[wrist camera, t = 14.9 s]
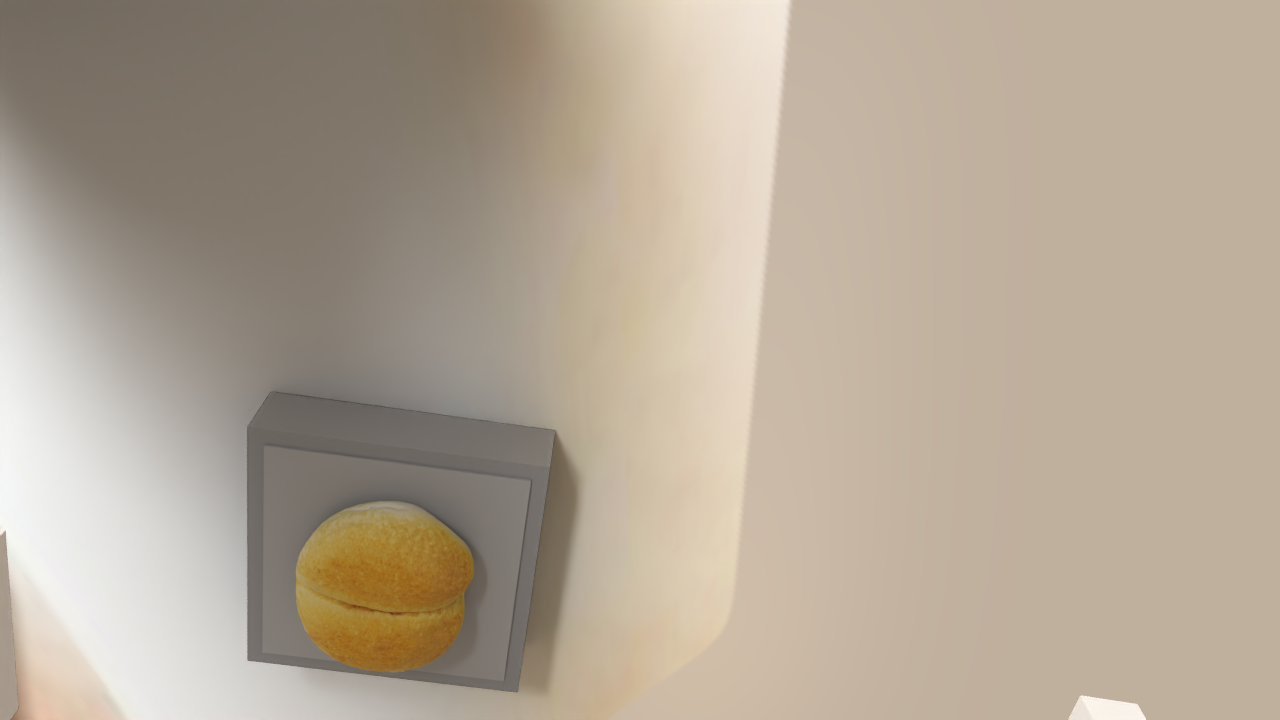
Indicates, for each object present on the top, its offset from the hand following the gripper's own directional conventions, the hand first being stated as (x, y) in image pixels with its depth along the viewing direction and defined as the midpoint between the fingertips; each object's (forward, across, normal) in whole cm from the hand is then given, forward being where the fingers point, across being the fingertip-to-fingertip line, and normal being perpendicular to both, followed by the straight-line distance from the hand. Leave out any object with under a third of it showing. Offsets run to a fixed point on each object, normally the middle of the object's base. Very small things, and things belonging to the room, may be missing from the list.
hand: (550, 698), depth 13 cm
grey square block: (+36, -6, -24) cm, 44 cm away
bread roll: (+33, -6, -24) cm, 41 cm away
